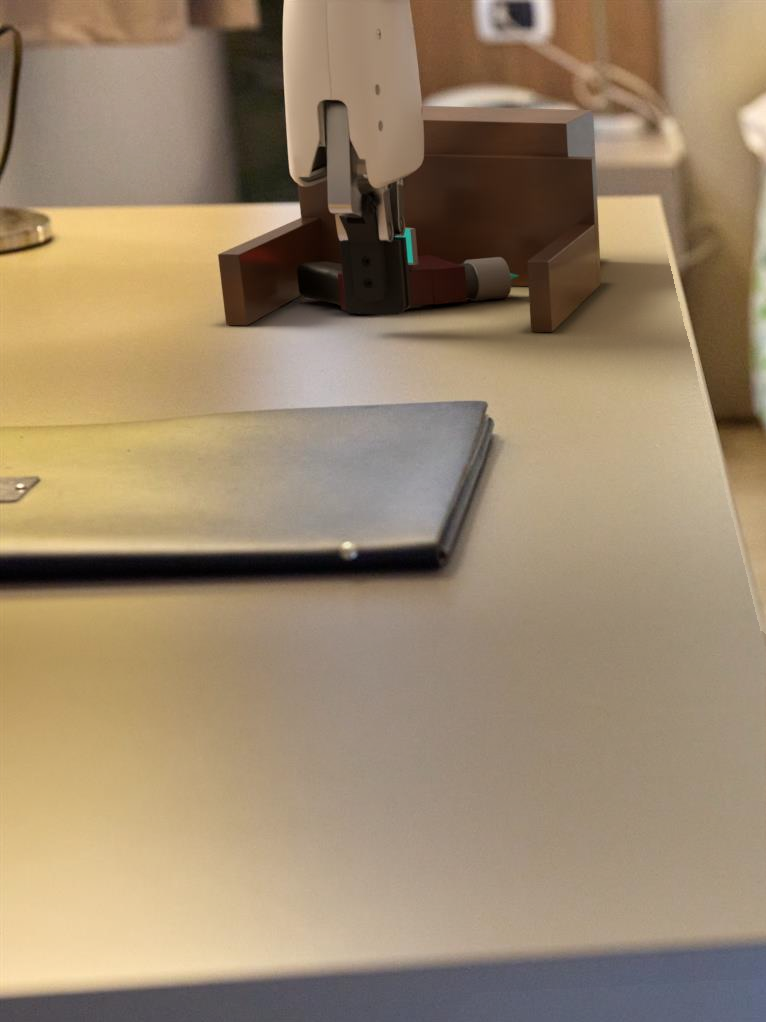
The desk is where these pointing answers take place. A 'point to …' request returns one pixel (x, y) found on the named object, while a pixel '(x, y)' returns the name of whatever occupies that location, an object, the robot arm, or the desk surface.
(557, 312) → the brown u-shaped frame
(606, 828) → the desk surface
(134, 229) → the desk surface
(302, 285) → the toy gun
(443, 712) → the desk surface
